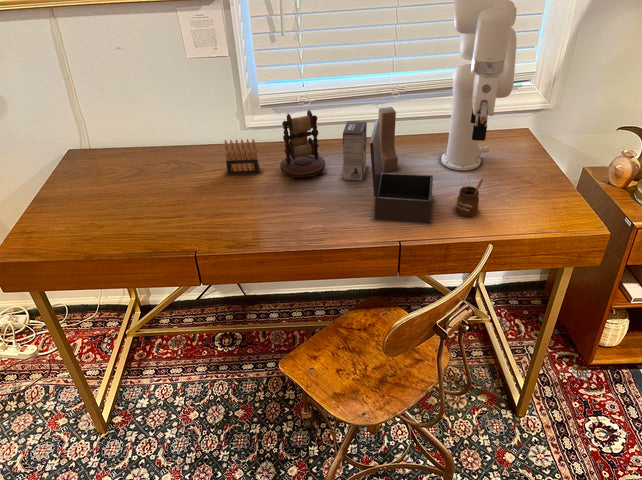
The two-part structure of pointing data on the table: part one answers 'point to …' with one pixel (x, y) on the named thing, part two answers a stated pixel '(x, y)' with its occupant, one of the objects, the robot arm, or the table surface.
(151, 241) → the table surface
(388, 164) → the wooden block
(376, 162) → the lid
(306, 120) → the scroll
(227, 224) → the table surface
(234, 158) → the ammunition clip
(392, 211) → the black box
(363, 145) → the coffee box
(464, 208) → the utensil holder
